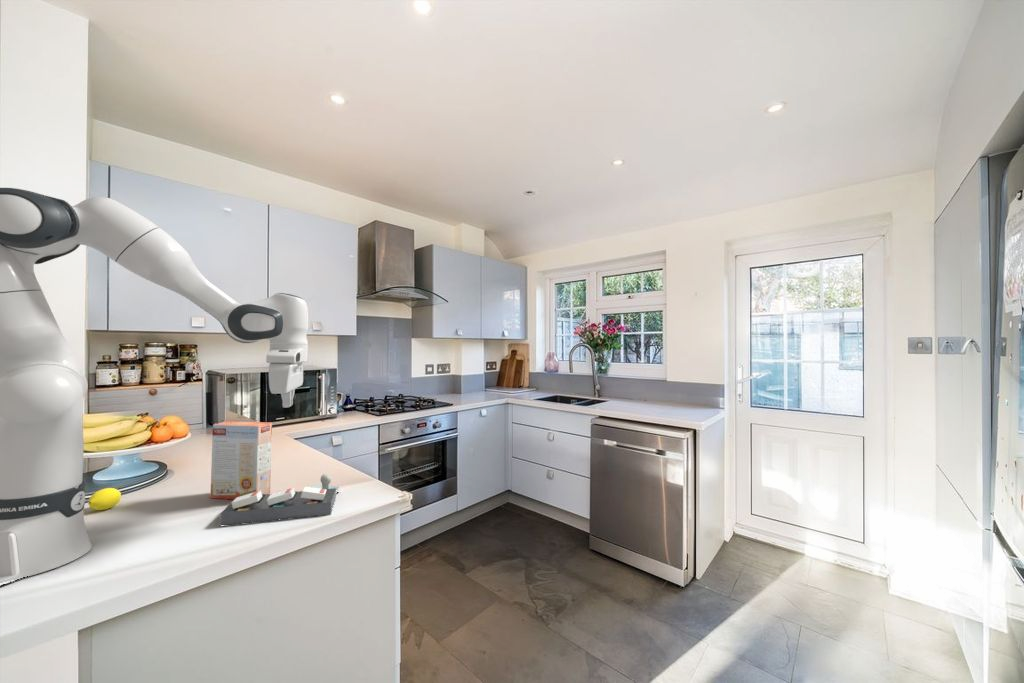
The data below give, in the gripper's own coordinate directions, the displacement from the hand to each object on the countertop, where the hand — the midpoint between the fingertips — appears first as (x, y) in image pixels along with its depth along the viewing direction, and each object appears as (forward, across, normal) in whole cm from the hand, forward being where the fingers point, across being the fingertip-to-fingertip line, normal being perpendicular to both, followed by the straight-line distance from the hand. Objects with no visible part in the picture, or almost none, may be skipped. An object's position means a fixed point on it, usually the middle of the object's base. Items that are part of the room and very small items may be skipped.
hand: (287, 406), depth 102 cm
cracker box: (+27, -13, -14) cm, 33 cm away
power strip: (+27, +2, 0) cm, 27 cm away
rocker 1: (+22, +4, -7) cm, 24 cm away
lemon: (+27, -12, -44) cm, 53 cm away
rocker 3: (+22, +4, +8) cm, 24 cm away
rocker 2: (+22, +4, 0) cm, 23 cm away
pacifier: (+27, -8, +9) cm, 30 cm away
